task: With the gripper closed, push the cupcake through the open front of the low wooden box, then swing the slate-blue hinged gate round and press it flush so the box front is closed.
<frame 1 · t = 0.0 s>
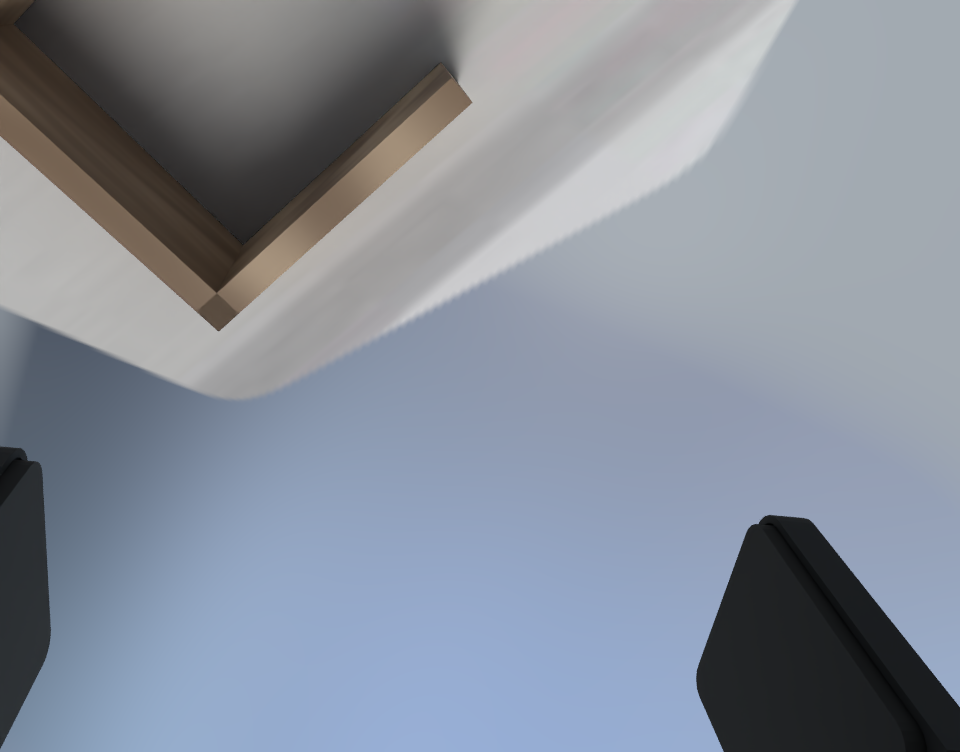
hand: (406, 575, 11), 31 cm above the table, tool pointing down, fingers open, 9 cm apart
wooden box: (224, 53, 37), on the table
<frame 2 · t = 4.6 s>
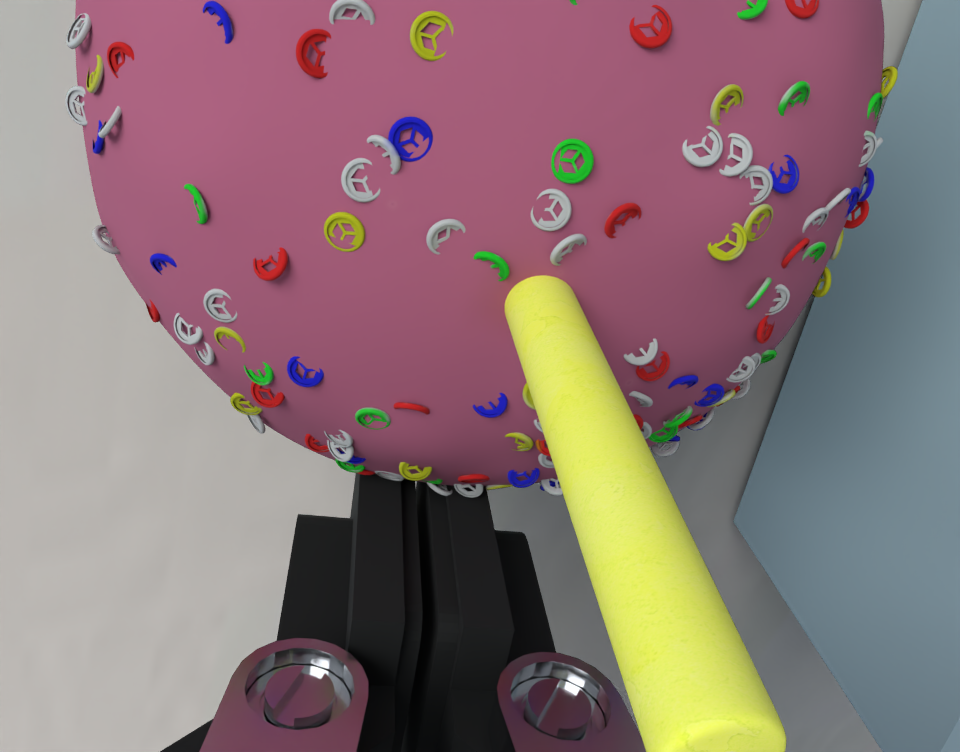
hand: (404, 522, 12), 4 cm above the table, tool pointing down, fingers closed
cupcake: (456, 91, 13), on the table, touching gripper
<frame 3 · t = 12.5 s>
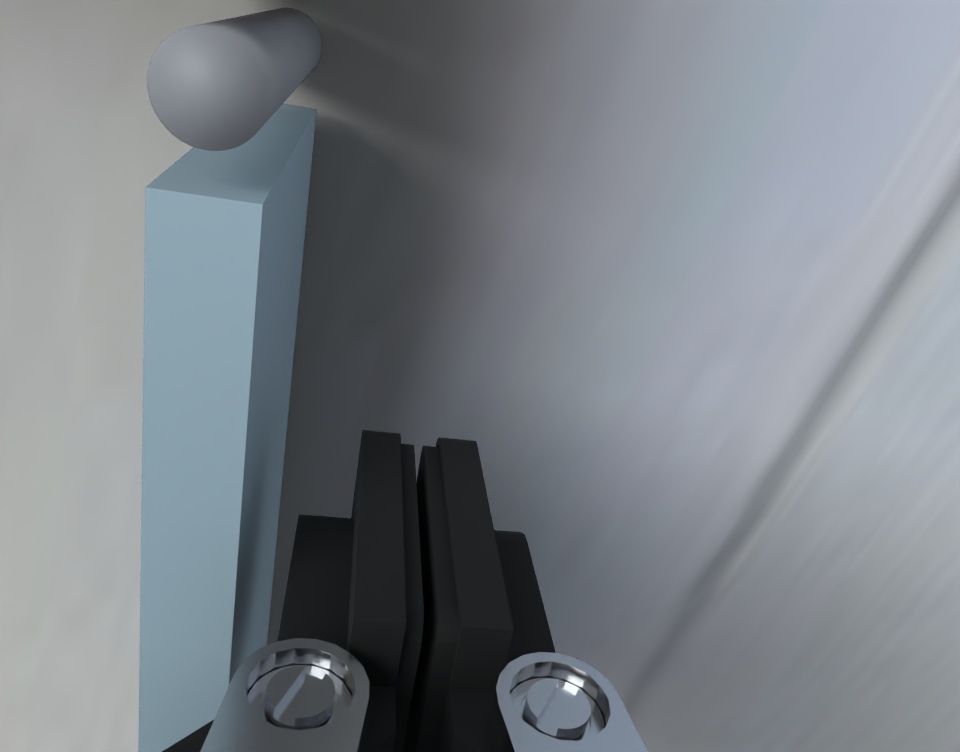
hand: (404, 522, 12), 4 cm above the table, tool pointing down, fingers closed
gate: (228, 552, 13), point 4 cm above the table, hinge at 88.4°, touching gripper
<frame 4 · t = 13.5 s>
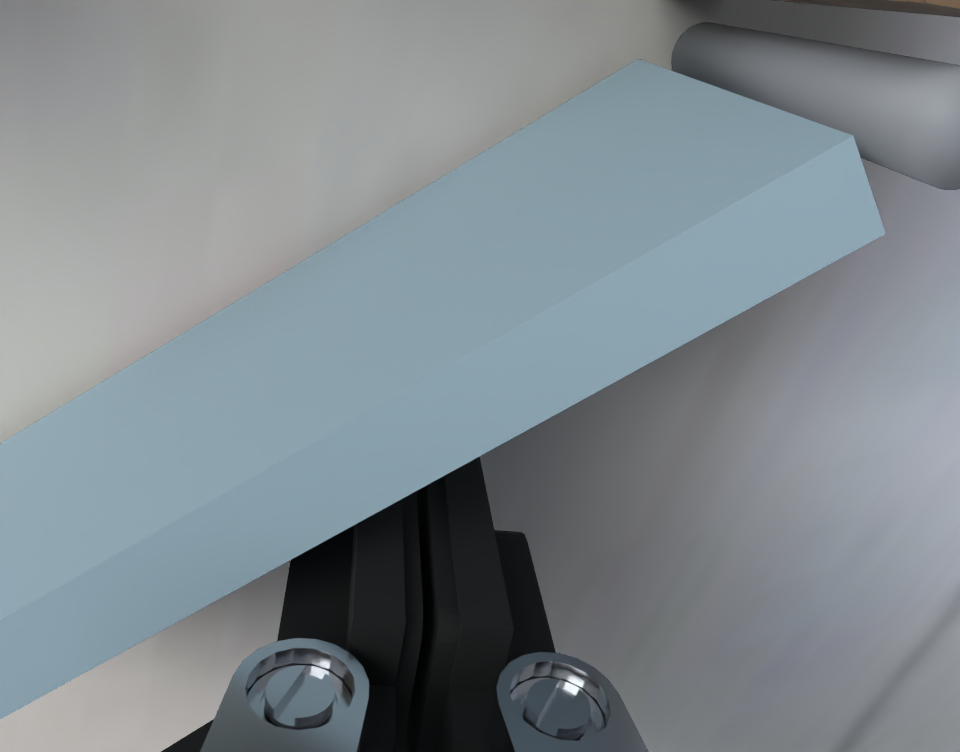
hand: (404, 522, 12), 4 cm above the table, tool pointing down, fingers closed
gate: (296, 375, 11), point 4 cm above the table, hinge at 37.9°, touching gripper
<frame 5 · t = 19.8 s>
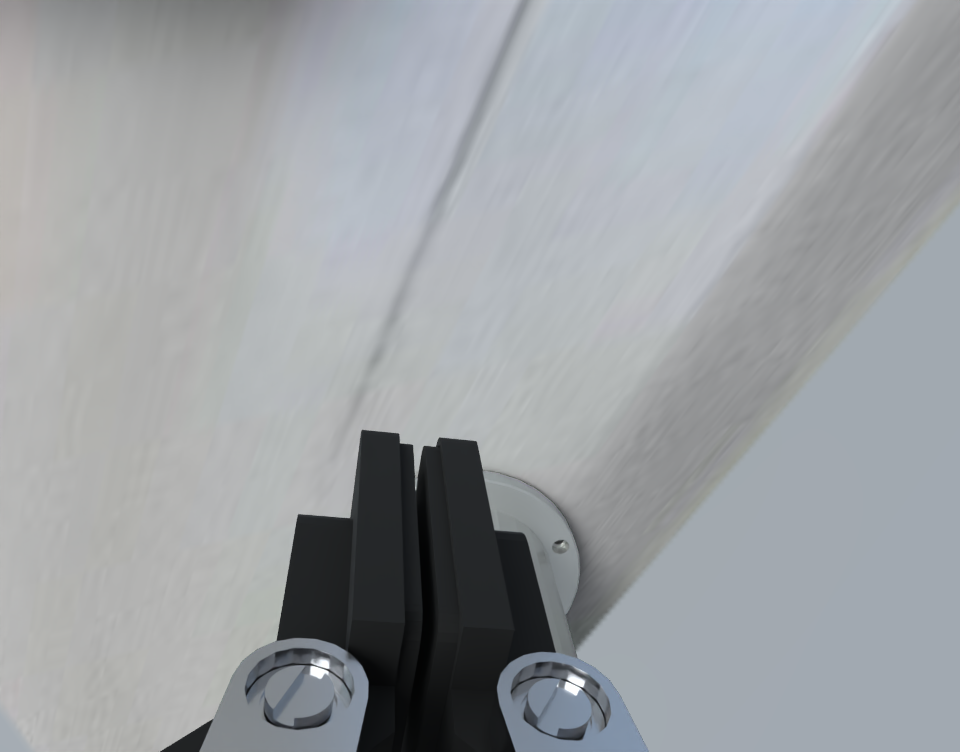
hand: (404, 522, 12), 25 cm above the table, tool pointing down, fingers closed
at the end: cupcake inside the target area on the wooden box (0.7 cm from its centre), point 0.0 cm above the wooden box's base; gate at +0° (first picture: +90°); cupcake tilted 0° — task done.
